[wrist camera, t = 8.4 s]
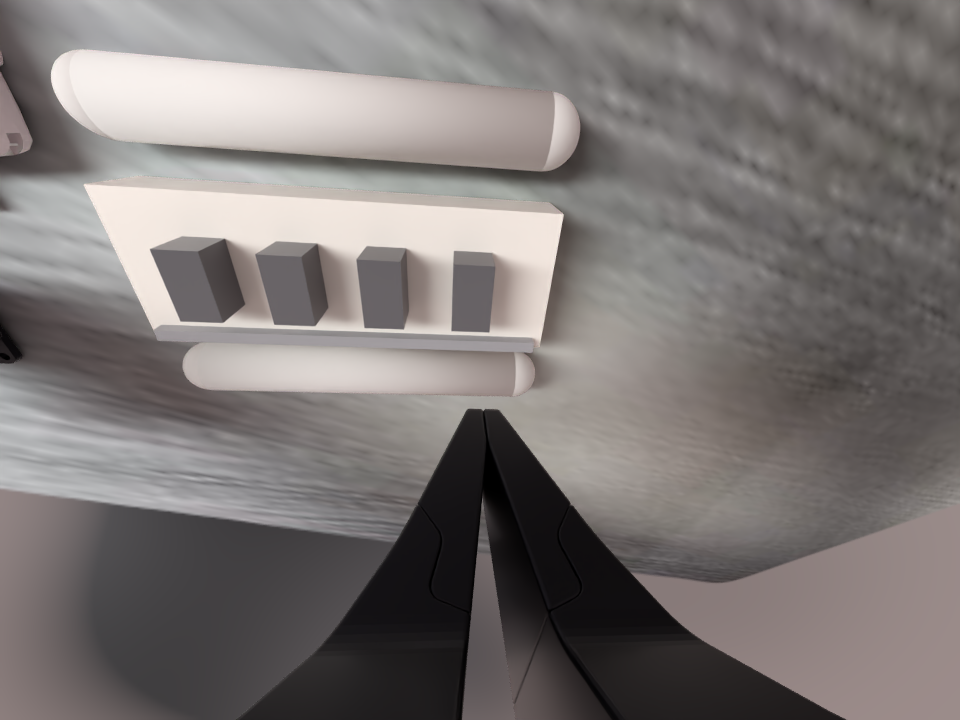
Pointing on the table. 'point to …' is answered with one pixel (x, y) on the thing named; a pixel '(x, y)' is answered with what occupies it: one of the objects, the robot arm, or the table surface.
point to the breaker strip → (332, 264)
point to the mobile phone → (11, 123)
